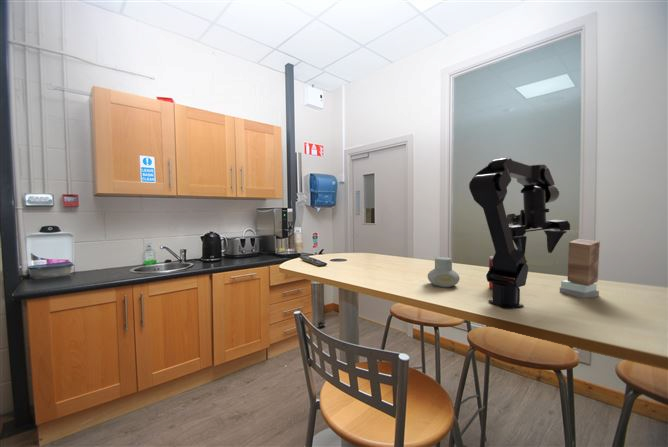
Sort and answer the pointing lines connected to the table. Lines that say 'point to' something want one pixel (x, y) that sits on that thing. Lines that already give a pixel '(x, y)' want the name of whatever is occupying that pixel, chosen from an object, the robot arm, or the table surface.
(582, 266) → the walnut post
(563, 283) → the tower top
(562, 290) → the tower base
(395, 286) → the table surface
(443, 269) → the air freshener
